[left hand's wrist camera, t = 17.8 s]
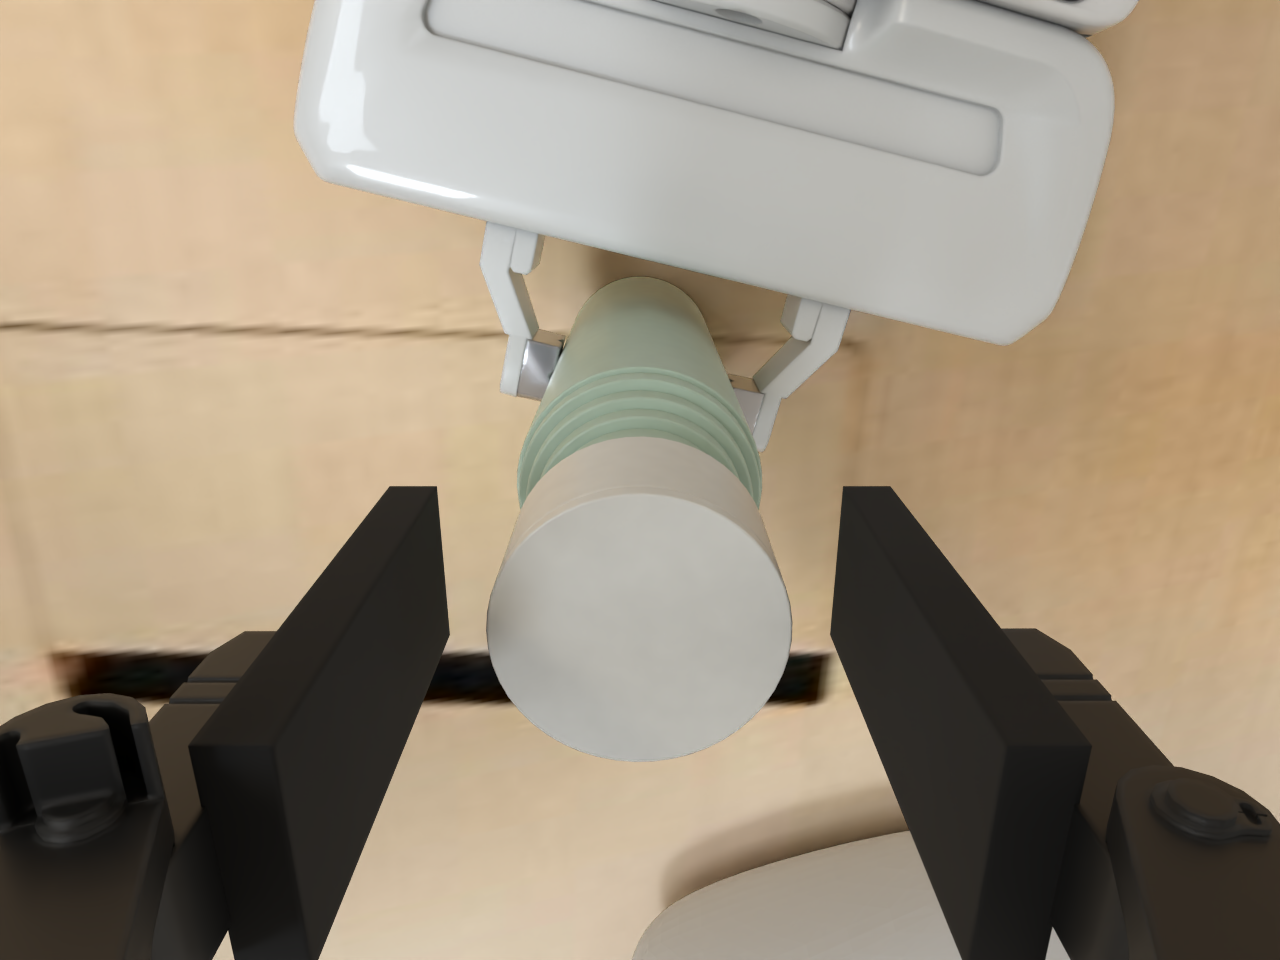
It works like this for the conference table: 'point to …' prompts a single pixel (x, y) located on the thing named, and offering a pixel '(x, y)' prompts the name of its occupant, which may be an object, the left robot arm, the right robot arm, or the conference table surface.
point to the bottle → (639, 384)
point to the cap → (639, 603)
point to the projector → (815, 911)
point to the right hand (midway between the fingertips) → (634, 418)
